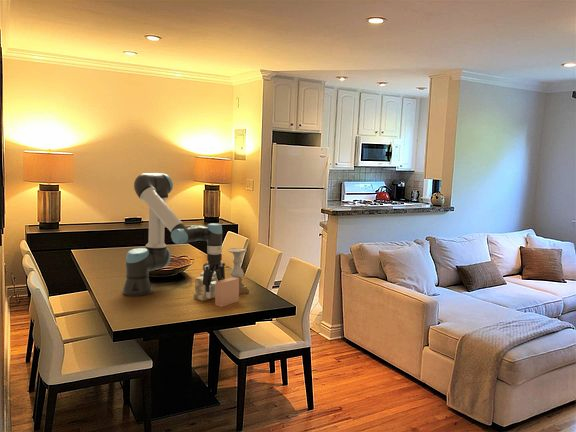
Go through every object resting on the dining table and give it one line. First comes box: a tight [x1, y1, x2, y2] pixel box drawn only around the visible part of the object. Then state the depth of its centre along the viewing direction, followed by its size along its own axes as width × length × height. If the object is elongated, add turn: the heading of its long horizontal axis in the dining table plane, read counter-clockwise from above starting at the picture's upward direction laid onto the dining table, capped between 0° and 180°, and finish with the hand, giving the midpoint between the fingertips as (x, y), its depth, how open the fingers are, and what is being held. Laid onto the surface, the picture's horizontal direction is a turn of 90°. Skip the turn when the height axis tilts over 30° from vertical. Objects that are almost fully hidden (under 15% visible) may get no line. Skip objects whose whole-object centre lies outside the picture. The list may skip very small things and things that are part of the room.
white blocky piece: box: [193, 276, 215, 301], centre depth 263 cm, size 7×10×11 cm
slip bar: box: [210, 280, 216, 294], centre depth 260 cm, size 15×5×5 cm, turn 54°
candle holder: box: [228, 247, 250, 295], centre depth 275 cm, size 11×11×24 cm
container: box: [199, 262, 218, 281], centre depth 287 cm, size 8×8×13 cm
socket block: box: [214, 276, 240, 308], centre depth 253 cm, size 4×13×12 cm, turn 144°
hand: (213, 296), depth 259 cm, fingers open, 7 cm apart
